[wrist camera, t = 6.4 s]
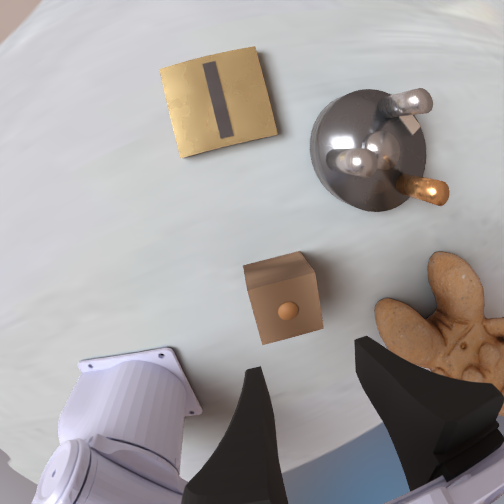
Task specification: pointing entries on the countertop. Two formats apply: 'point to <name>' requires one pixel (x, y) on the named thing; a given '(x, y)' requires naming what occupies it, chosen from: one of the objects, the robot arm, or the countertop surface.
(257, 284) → the block
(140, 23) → the countertop surface
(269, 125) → the pad
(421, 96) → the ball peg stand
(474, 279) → the figurine
